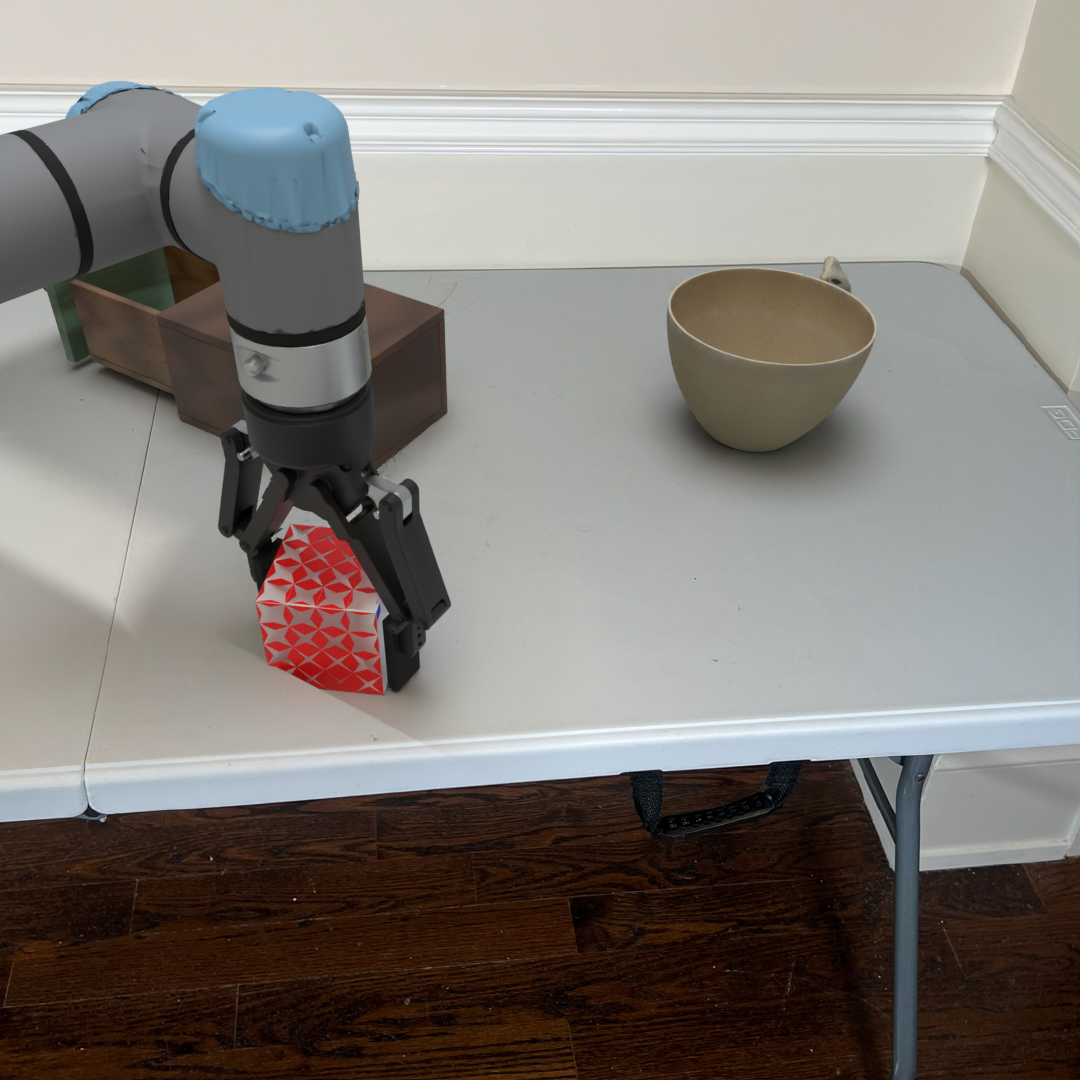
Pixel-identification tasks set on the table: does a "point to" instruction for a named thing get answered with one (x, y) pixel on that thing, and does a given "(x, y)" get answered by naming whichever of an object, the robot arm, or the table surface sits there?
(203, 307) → the cabinet
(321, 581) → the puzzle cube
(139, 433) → the table surface
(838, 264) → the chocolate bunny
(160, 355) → the drawer
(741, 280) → the beige bowl
